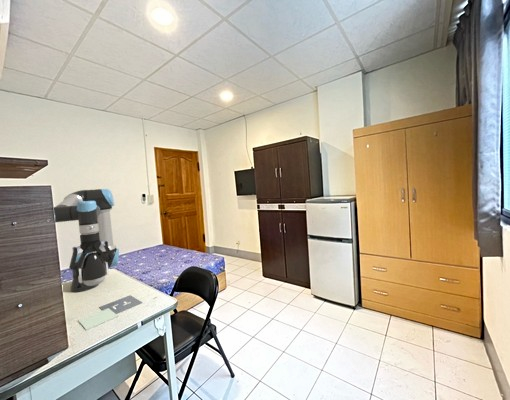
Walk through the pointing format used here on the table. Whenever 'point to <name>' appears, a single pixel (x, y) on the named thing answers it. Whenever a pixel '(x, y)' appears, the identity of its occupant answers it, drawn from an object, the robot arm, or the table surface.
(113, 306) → the tile
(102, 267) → the pump dispenser
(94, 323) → the mat
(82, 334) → the table surface
